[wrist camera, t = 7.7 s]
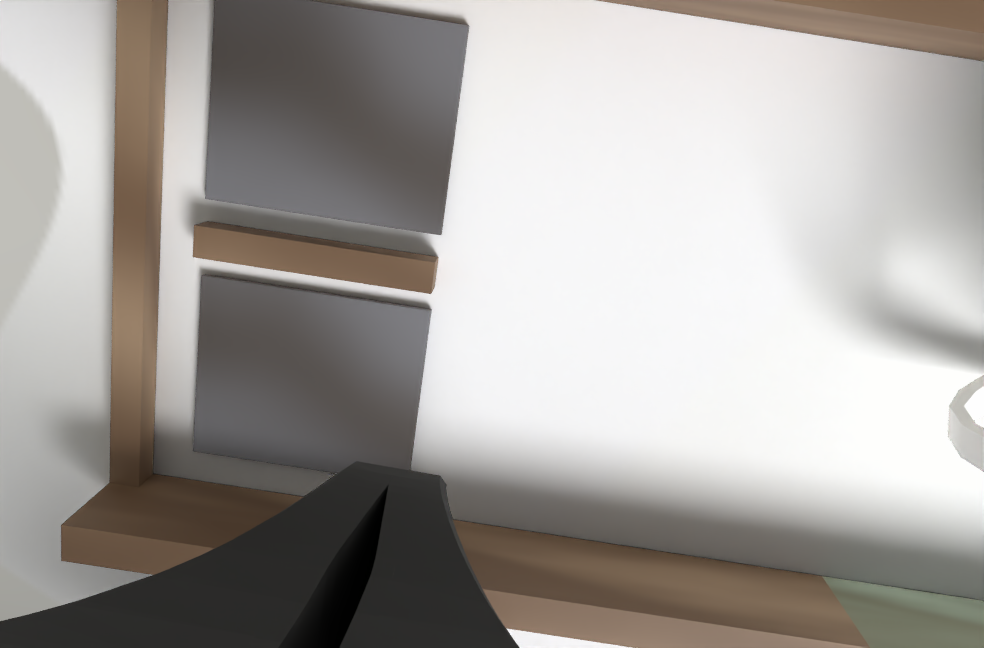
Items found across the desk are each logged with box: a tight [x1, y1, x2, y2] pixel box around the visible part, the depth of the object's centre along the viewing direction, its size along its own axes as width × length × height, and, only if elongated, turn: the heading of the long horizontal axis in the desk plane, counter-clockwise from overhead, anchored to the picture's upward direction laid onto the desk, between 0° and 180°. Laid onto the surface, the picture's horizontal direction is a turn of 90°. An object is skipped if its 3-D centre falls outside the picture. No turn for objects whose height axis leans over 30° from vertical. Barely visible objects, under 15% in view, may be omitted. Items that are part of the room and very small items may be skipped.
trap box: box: [61, 0, 984, 648], centre depth 18 cm, size 16×30×3 cm, turn 81°
